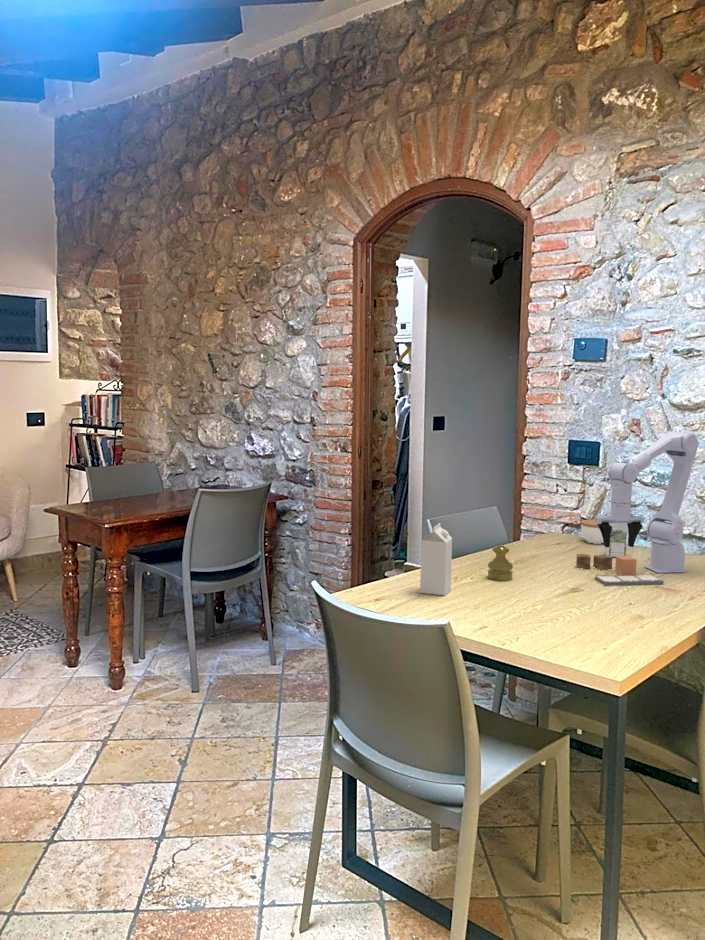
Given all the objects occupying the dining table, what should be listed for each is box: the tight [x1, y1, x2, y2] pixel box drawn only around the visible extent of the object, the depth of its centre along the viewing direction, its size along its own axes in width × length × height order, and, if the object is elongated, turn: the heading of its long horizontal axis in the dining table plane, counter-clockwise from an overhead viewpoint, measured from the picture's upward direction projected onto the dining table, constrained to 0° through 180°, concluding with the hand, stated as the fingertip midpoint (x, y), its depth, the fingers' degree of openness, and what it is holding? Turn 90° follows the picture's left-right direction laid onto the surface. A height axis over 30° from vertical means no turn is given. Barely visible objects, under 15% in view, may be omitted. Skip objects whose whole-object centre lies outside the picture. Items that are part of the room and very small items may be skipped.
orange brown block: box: [614, 555, 637, 576], centre depth 238 cm, size 4×4×5 cm
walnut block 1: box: [575, 553, 592, 570], centre depth 245 cm, size 4×4×4 cm
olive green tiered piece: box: [487, 544, 514, 582], centre depth 231 cm, size 7×7×10 cm
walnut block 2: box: [592, 554, 613, 571], centre depth 244 cm, size 4×4×4 cm
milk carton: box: [419, 522, 453, 596], centre depth 214 cm, size 7×7×19 cm
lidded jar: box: [580, 517, 604, 545], centre depth 284 cm, size 11×11×9 cm
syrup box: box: [604, 513, 628, 558], centre depth 261 cm, size 6×6×14 cm
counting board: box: [594, 574, 665, 587], centre depth 228 cm, size 18×7×1 cm, turn 97°
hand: (618, 546), depth 233 cm, fingers open, 7 cm apart
